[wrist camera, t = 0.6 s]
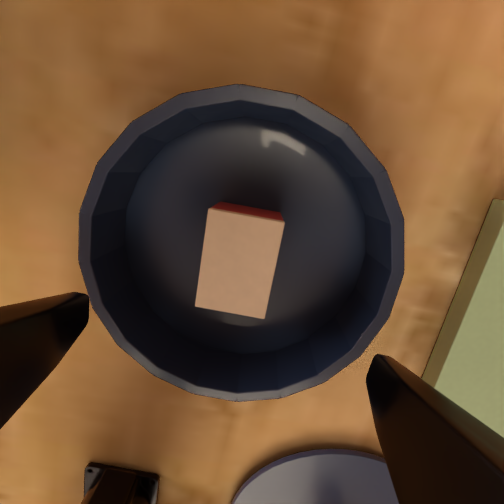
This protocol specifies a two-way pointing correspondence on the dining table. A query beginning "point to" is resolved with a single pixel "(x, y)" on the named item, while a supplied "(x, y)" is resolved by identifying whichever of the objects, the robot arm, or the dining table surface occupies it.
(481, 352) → the board
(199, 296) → the meat
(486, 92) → the dining table surface
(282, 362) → the pot
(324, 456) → the lid
